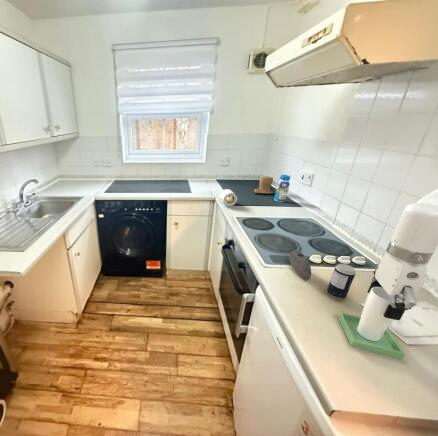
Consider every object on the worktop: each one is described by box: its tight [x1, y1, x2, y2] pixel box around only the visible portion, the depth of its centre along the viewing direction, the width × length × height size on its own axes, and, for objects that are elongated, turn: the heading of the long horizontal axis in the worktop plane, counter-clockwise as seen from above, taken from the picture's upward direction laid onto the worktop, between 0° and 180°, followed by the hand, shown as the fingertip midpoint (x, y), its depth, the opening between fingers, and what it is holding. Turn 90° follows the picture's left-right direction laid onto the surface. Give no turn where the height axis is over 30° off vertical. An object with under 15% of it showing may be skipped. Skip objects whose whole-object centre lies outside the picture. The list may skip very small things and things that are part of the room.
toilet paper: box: [219, 188, 238, 207], centre depth 178 cm, size 10×10×10 cm
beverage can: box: [326, 263, 356, 300], centre depth 85 cm, size 6×6×12 cm
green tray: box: [337, 311, 406, 360], centre depth 70 cm, size 11×12×2 cm
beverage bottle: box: [273, 174, 291, 203], centre depth 183 cm, size 8×8×20 cm
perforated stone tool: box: [288, 249, 312, 281], centre depth 98 cm, size 15×5×7 cm, turn 168°
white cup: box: [357, 287, 402, 341], centre depth 67 cm, size 7×7×15 cm
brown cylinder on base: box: [254, 175, 274, 195], centre depth 204 cm, size 15×12×15 cm
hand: (382, 305), depth 66 cm, fingers open, 9 cm apart
